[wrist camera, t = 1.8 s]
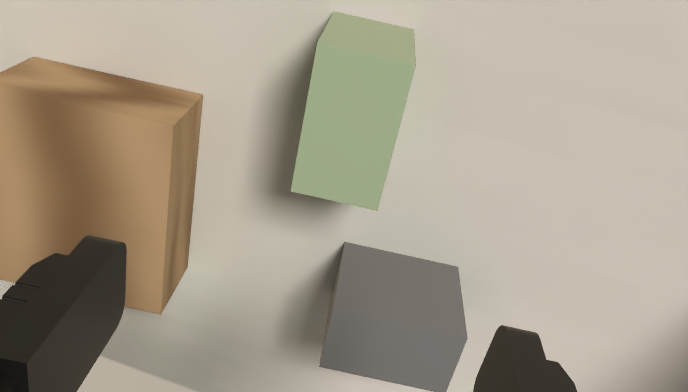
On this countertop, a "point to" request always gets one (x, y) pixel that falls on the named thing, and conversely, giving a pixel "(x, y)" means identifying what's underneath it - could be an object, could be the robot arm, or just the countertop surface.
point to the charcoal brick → (395, 319)
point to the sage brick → (354, 109)
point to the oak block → (97, 172)
